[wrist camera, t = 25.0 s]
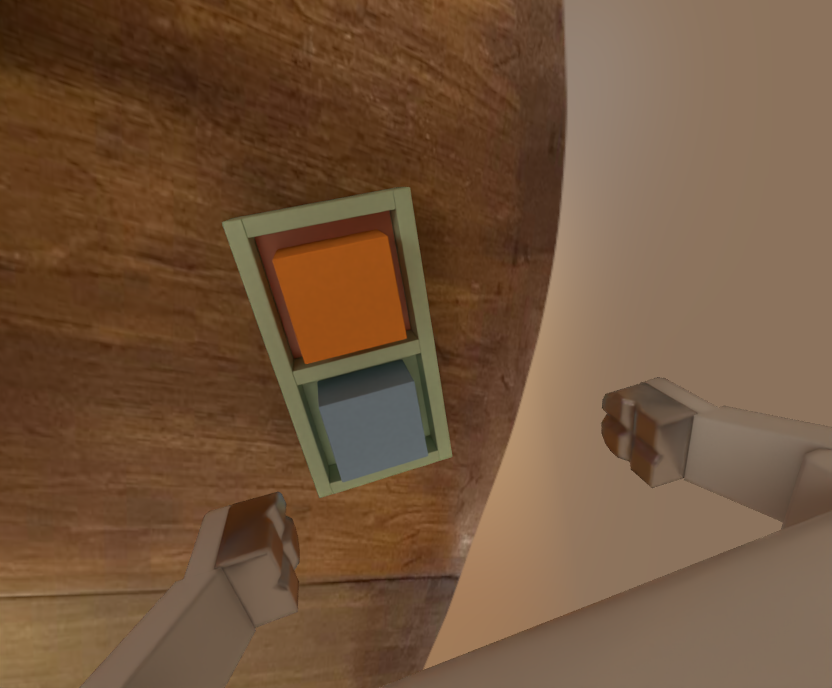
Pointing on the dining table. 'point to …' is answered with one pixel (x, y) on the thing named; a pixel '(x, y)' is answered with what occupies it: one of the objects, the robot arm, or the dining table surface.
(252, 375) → the dining table surface
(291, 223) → the frame
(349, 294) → the orange square block
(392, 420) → the blue gray block
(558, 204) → the dining table surface
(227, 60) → the dining table surface
